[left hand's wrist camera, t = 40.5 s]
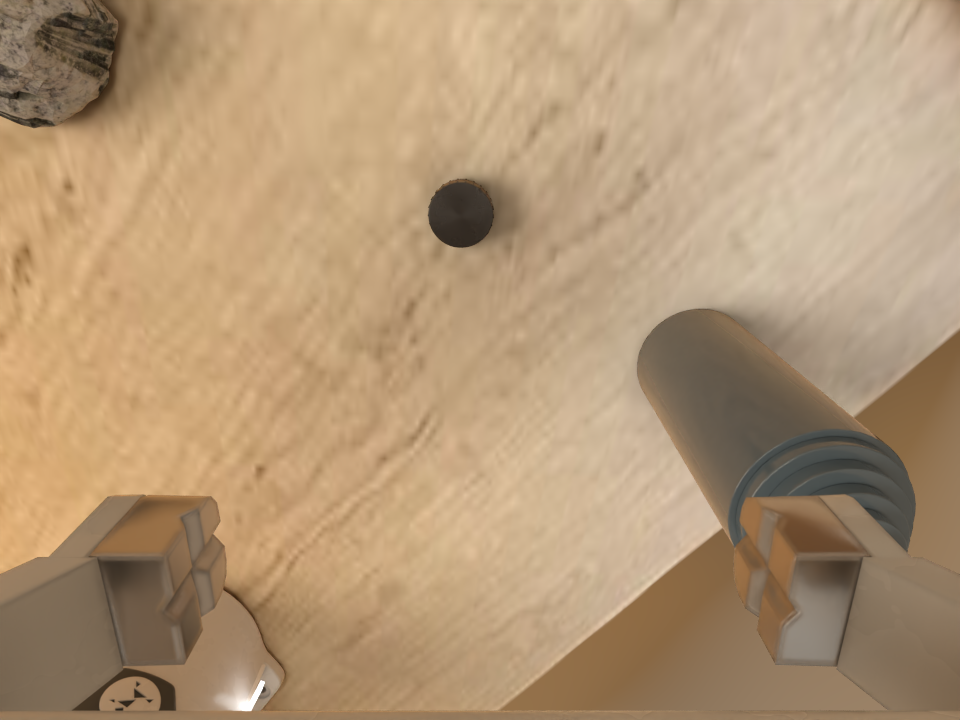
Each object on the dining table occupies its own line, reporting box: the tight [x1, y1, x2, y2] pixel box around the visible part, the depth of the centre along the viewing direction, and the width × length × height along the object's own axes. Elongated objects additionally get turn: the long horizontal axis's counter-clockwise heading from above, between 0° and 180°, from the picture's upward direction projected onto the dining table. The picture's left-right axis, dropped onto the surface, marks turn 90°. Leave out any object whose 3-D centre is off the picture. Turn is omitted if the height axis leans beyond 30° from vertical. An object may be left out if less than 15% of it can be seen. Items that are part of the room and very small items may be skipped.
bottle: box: [637, 309, 916, 552], centre depth 36 cm, size 8×8×25 cm
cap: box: [428, 179, 494, 248], centre depth 43 cm, size 4×4×2 cm
